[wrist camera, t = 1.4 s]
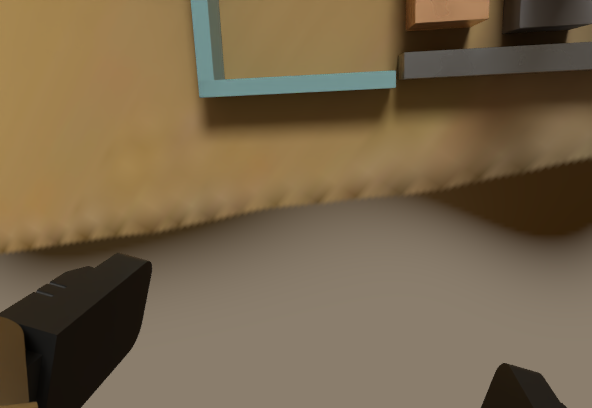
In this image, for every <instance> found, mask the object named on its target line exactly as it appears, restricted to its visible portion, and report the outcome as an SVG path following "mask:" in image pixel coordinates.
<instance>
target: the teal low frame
mask: <svg viewBox="0 0 592 408" xmlns="http://www.w3.org/2000/svg"><path fill="white" fill-rule="evenodd" d="M191 9H192V20H193V31H194V42H195V53H196V64H197V75H198V86H199V97H200V98H202V97H224V96H244V95H264V94H284V93H303V92H323V91H343V90H363V89H383V88H396V70H395V71H377V72H358V73H339V74H320V75H301V76H283V77H264V78H245V79H226V80H225V77H224V64H223V51H222V38H221V26H220V13H219V0H191Z"/></svg>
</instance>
